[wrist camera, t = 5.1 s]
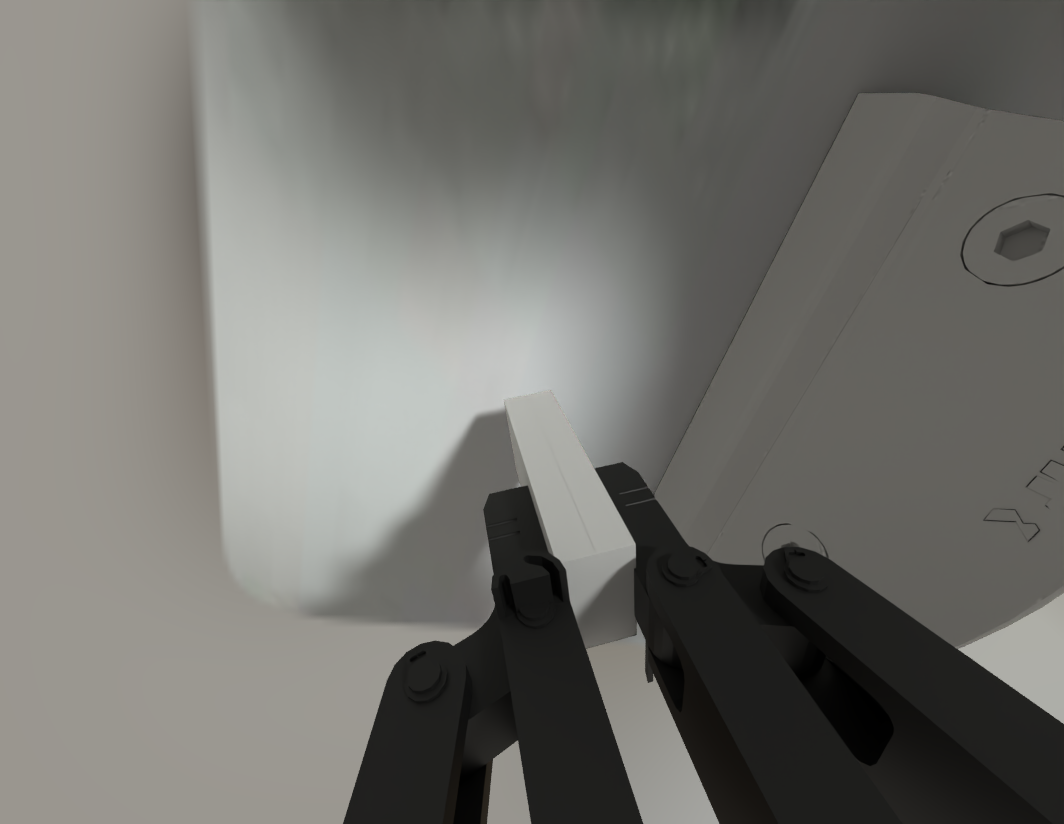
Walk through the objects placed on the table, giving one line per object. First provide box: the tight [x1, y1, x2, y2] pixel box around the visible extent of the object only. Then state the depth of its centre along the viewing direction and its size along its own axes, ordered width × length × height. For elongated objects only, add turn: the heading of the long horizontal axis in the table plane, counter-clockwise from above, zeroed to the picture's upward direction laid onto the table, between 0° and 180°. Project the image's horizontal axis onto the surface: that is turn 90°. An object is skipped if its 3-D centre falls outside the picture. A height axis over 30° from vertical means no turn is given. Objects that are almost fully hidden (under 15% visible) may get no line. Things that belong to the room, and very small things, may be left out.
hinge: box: [654, 93, 1064, 649], centre depth 14 cm, size 17×5×10 cm, turn 162°
